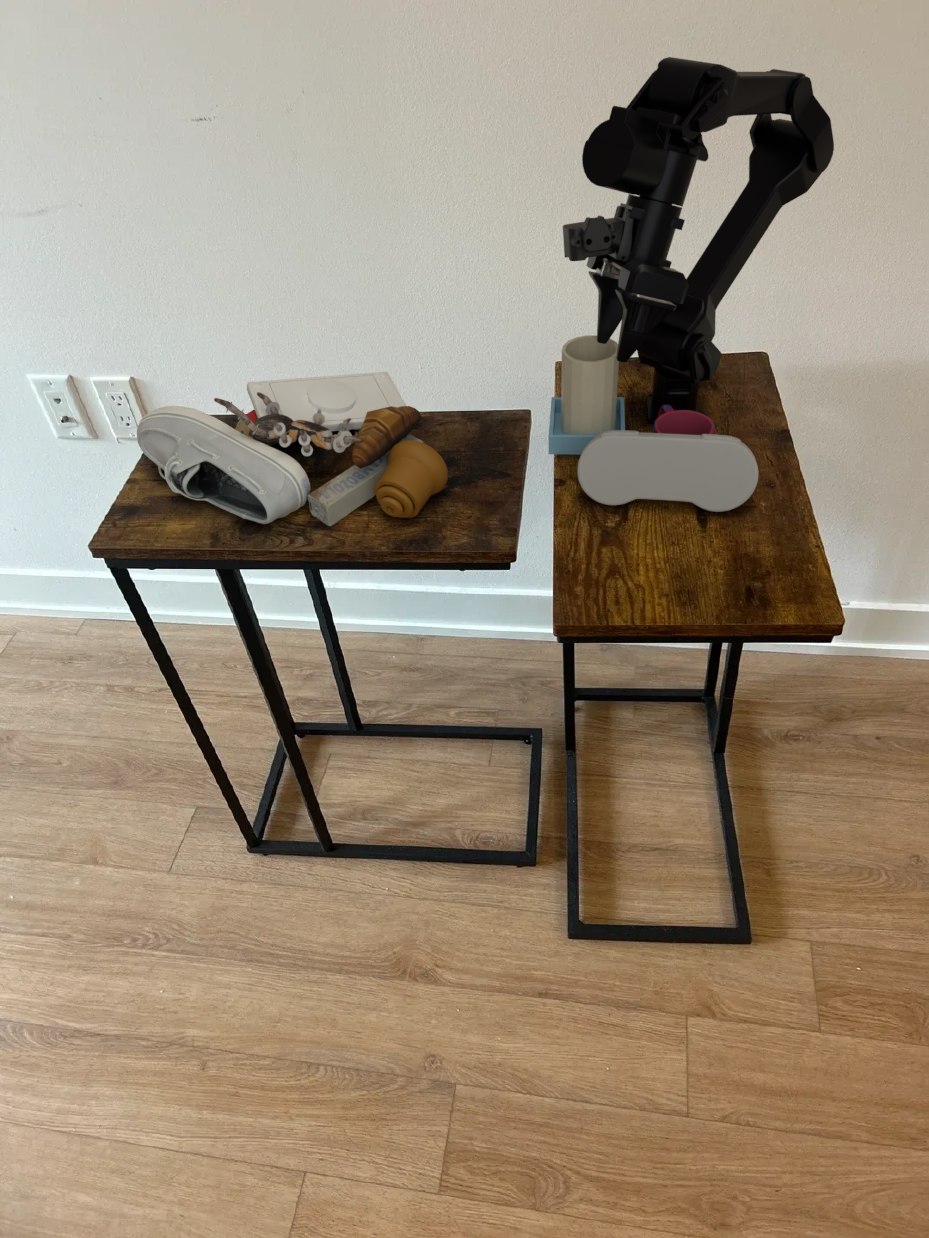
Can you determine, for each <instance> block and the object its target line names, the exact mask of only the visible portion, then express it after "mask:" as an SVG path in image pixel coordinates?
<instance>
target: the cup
mask: <svg viewBox="0 0 929 1238" xmlns="http://www.w3.org/2000/svg"><path fill="white" fill-rule="evenodd" d="M652 431H653V432H652V433H665V434H686V435H702V434H715V431H716V425H715V422H714V420H713V419H711V417H709V416H708V415H707V414H704V413H702V412H700V413H699V412H696V411H691V410H675V411H674V410H673V408H672V407H671V406H670V405H663V406H661V407H660V410H659V413H658V418H657V419H656V420H655V422H654V423H653V430H652Z"/></svg>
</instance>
